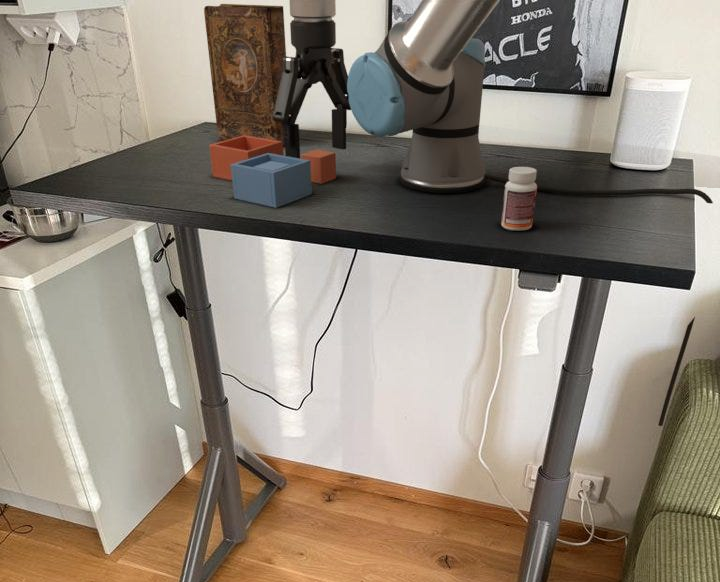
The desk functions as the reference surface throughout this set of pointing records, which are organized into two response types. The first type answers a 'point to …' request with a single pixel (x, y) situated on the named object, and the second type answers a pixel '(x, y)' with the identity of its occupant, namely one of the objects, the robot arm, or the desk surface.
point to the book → (246, 68)
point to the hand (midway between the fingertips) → (316, 156)
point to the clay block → (321, 165)
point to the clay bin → (240, 152)
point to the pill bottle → (519, 199)
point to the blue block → (272, 166)
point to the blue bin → (271, 180)
